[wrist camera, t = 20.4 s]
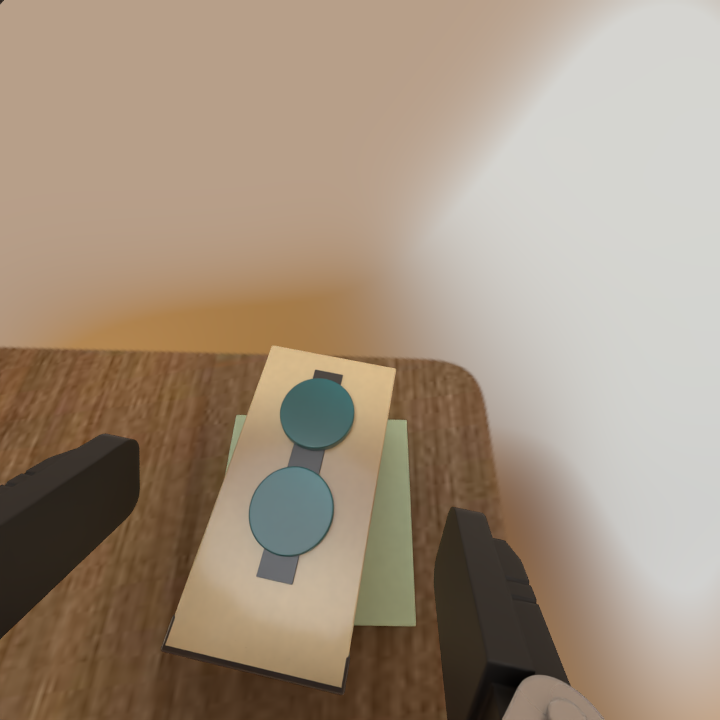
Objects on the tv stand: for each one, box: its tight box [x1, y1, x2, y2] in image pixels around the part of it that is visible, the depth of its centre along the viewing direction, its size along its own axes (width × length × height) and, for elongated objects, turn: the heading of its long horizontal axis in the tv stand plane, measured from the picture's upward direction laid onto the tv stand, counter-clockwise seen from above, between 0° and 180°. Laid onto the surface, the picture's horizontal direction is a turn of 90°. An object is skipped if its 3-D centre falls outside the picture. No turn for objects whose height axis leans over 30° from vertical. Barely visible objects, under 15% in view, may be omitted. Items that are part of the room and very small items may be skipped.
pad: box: [225, 415, 416, 626], centre depth 18 cm, size 9×9×1 cm
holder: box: [161, 346, 396, 695], centre depth 14 cm, size 9×5×7 cm, turn 169°
